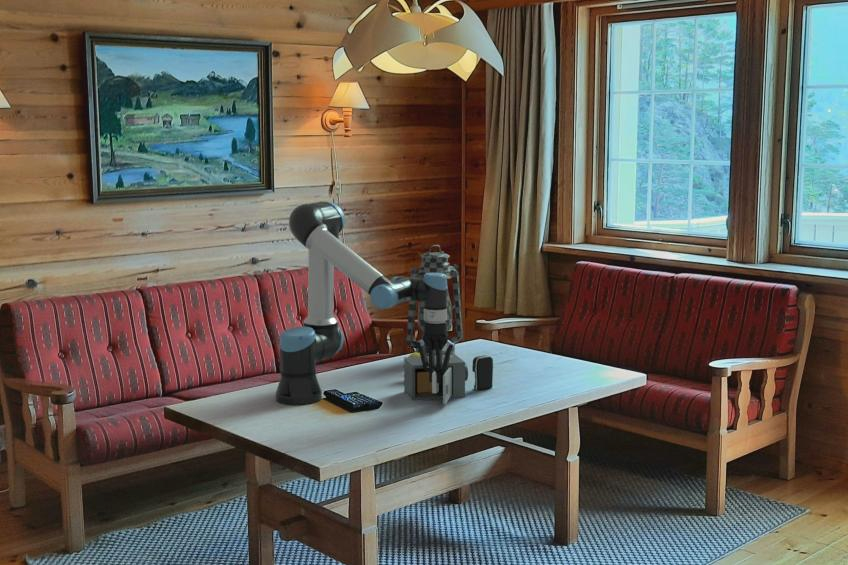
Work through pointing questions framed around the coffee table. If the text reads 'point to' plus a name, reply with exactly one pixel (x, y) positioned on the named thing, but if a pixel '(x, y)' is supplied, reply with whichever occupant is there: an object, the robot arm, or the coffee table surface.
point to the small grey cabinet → (421, 387)
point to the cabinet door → (447, 385)
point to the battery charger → (483, 372)
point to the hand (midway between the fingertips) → (435, 392)
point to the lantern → (439, 264)
